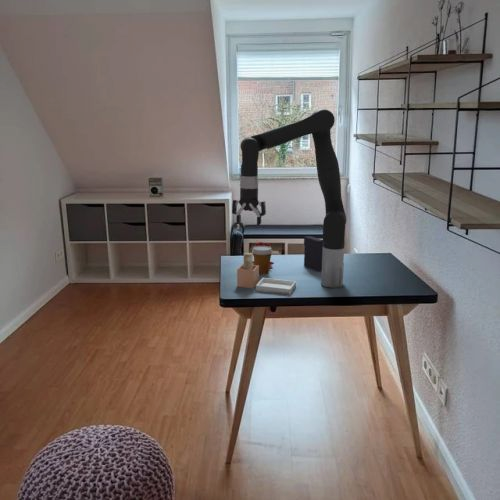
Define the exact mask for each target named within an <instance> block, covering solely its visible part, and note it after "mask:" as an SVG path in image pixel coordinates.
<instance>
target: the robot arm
mask: <svg viewBox="0 0 500 500" xmlns="http://www.w3.org/2000/svg"><path fill="white" fill-rule="evenodd" d="M335 121H336V120H335V116H334V113H333V112H332V111H330V110H328V109H327V108H326V109H324V108H321V109H318V110H315V111H313V112H312V114H311V115H310V116H307V117H304V118H303V119H301V120H298V121H295V122H293V123H288V124H284V125H282V126H279V127H275V128H272V129H269V130H267V131H264V132H261V133H258V134H255V135H251V136H247V137H245V138H244V139H243V140H242V141H241V142H240V146H239V148H240V150H241V163H240V164H241V165H240V180H239V181H240V182H239V187H240V188H239V199H237V198H235V199H233V200H232V204H231V205H232V207H231V209H232V211H231V213H232V215H235V216H236V219H235V220H236V224H238V225H241V223H242V215H241V214H242V212H247V211H249V212H254V213H255V215H256V216H257V217H256V226H260V225H262V217H263V216H265V215H266V214H267V211H266V201H265V200H263V201H260V200H259V177H258V175H259V174H258V172H259V169H258V168H259V167H258V165H259V163H258V162H259V153H260V151H263V150H268V149H272V148H275V147H279V146H281V145H283V144H287V143H289V142H291V141H293V140H296V139H299V138H301V137H304V136H305V137H306V136H309V135H311V136H312V141H313V144H314V145H313V146H314V151H315V152H314V153H315V154H314V155H315V164H316V174H317V179H318V183H319V187H320V190H321V193H322V195H323V198H324V205H325V206H324V207H325V217H324V218H323V225H322V240H323V255H322V271H321V275H320V276H321V277H320V284H321V286H323V287H325V288H331V289H334V288H342V286H343V284H344V270H345V263H344V262H345V261H344V259H345V258H344V257H345V247H346V246H345V245H346V244H345V237H346V236H345V235H346V223H347V215H346V211H345V207H344V204H343V197H342V184H341V183H342V182H341V173H340V164H339V160H338V157H337V155H336V152H335V149H334V146H333V143H332V138H331V137H332V136H331V135H332V134H331V129H332V128H333V126H334V125H335ZM238 204H239V205H240V208H238V209H237V207H238V206H237V205H238ZM258 206H259V207H260V209H259V208H258Z"/></svg>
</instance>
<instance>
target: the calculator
mask: <svg viewBox="0 0 500 500" xmlns="http://www.w3.org/2000/svg"><path fill="white" fill-rule="evenodd" d="M303 246H304V252H303V253H304V254H303V256H304V257H303V266H304V267H306V268H309V269H312V270H313V271H317V272H322V255H323V239H320V238H319V237H314V236H310V235H308V236H304V237H303Z"/></svg>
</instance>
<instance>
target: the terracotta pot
mask: <svg viewBox="0 0 500 500" xmlns="http://www.w3.org/2000/svg"><path fill="white" fill-rule="evenodd" d="M259 277H260V274H259V266H257V265H253V270H247V269H244V263H242V264H241V265H239V266H238V267H237V269H236V287H240V288H248V289H255V288H256V285H257V284H258V282H259V281H260V278H259Z"/></svg>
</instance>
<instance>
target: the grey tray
mask: <svg viewBox="0 0 500 500" xmlns="http://www.w3.org/2000/svg"><path fill="white" fill-rule="evenodd" d="M296 287H297V281H296V280H289V279H288V280H287V279H279V278H270V277H268V278H267V277H262V278H261V279H259V282H258V284H257V285H256V286H255V291H256V292H263V293H271V294H278V295H279V294H280V295H288V296H290V295H291V294H292V293H293V291H294V290H295V288H296Z"/></svg>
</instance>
